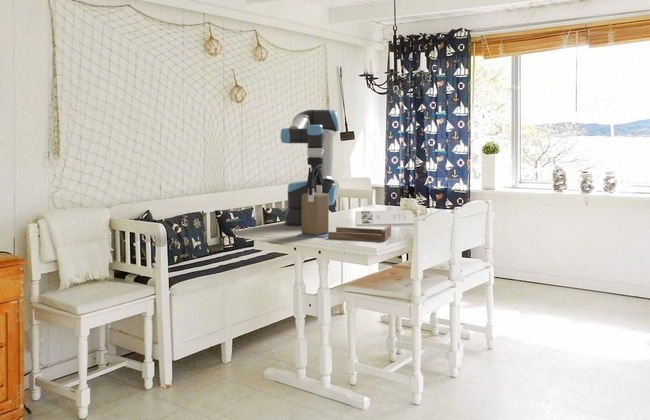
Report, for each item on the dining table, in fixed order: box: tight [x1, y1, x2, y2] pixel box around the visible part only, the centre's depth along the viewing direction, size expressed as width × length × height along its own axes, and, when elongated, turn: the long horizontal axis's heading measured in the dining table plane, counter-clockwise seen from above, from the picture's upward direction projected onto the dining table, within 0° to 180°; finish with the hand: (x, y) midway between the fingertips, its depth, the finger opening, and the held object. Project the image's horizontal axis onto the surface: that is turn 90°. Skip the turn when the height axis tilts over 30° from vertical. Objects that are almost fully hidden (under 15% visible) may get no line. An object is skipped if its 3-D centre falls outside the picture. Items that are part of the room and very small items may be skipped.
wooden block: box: [301, 192, 330, 236], centre depth 314 cm, size 10×10×20 cm
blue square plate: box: [297, 232, 328, 239], centre depth 315 cm, size 14×14×1 cm
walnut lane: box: [327, 225, 392, 242], centre depth 309 cm, size 16×28×5 cm, turn 74°
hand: (315, 199), depth 313 cm, fingers open, 13 cm apart
